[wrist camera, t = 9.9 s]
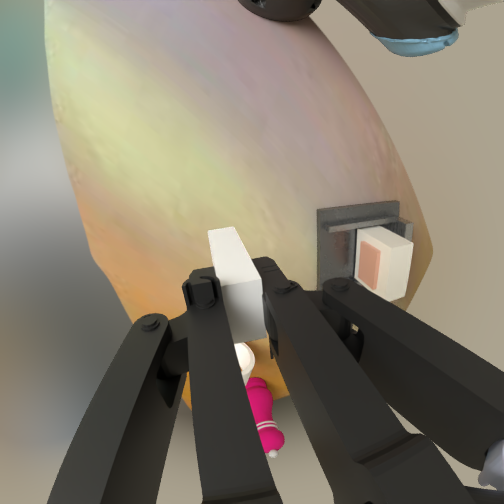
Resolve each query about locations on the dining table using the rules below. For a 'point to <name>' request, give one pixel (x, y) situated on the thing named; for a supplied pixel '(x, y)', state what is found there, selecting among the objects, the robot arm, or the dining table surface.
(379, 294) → the white block
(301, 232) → the dining table surface
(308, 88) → the dining table surface
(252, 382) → the pepper mill
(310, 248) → the dining table surface
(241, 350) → the headphone stand
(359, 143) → the dining table surface
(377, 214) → the track
